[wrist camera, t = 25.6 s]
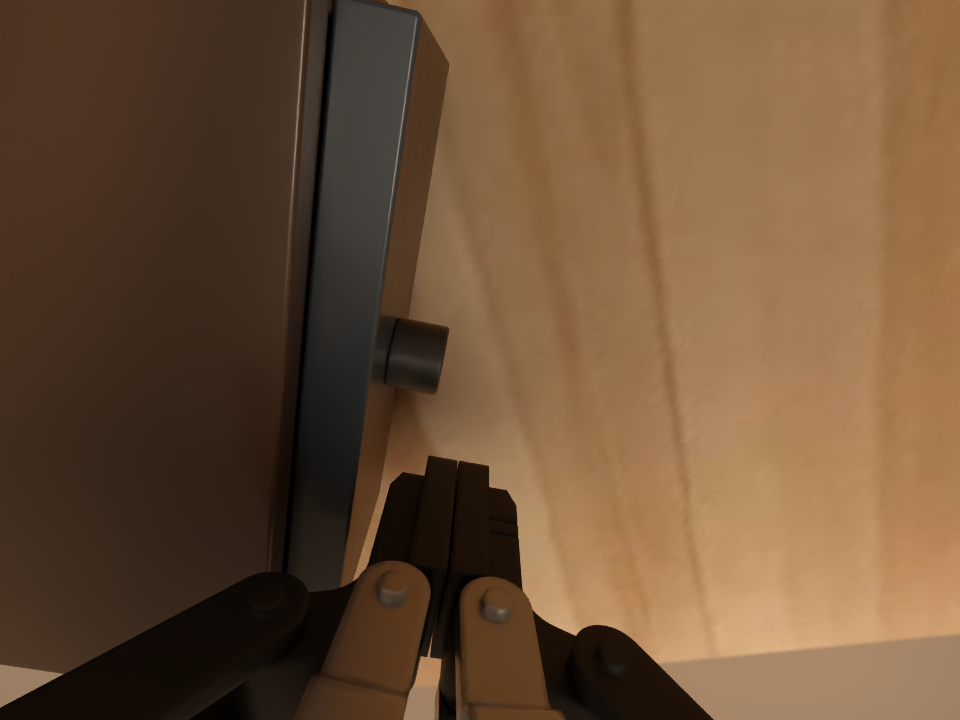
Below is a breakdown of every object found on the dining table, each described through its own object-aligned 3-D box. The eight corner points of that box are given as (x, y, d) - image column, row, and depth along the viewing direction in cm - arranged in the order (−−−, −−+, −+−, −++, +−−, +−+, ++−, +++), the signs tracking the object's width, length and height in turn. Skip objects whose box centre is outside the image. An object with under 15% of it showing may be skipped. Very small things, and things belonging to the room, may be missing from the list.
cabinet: (409, 27, 13) (316, -92, 6) (347, 483, 19) (260, 704, 11) (-234, -125, 12) (-1250, -483, 5) (-105, 402, 18) (-511, 590, 10)
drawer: (499, 73, 13) (508, 32, 7) (415, 498, 18) (384, 662, 12) (-162, -82, 12) (-716, -262, 6) (-58, 415, 17) (-321, 552, 11)
